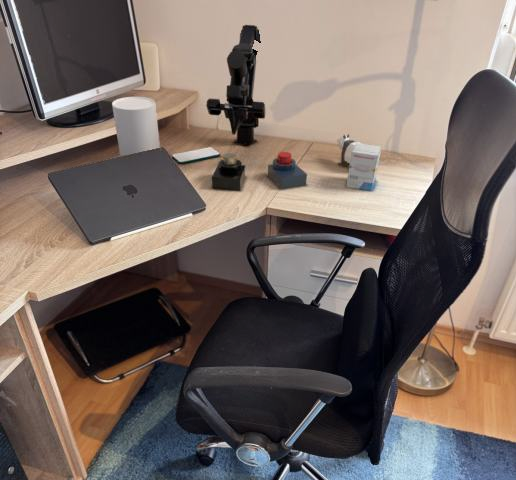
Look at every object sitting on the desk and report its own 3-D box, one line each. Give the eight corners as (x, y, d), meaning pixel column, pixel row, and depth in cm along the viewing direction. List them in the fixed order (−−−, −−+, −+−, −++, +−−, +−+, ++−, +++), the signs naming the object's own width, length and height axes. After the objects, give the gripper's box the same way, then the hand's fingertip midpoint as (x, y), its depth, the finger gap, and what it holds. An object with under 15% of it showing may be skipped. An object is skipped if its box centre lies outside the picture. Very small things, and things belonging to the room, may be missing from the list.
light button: (224, 160, 163) (224, 152, 161) (238, 162, 163) (238, 153, 161) (222, 166, 160) (222, 157, 158) (235, 167, 160) (235, 158, 158)
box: (266, 175, 168) (267, 159, 164) (290, 171, 171) (291, 155, 167) (281, 189, 160) (282, 172, 157) (306, 185, 163) (307, 168, 159)
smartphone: (180, 165, 173) (221, 156, 179) (179, 162, 172) (221, 154, 178) (171, 157, 178) (211, 149, 184) (170, 154, 177) (211, 146, 183)
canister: (167, 168, 170) (161, 106, 157) (130, 175, 165) (120, 112, 152) (152, 154, 179) (146, 94, 165) (116, 161, 173) (106, 99, 160)
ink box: (375, 181, 167) (382, 146, 159) (371, 191, 161) (378, 155, 153) (350, 177, 169) (356, 142, 161) (345, 186, 163) (351, 151, 155)
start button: (275, 160, 164) (275, 152, 163) (287, 159, 166) (288, 151, 164) (281, 166, 161) (281, 157, 160) (293, 164, 163) (293, 155, 161)
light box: (219, 174, 168) (218, 157, 164) (245, 176, 167) (245, 159, 164) (212, 188, 159) (211, 171, 156) (240, 191, 159) (240, 174, 155)
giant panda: (367, 171, 173) (372, 143, 167) (354, 174, 171) (359, 146, 164) (342, 156, 182) (346, 129, 176) (329, 159, 180) (333, 132, 174)
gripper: (206, 70, 155) (200, 119, 154) (265, 74, 153) (260, 123, 153) (212, 90, 166) (206, 136, 165) (267, 94, 165) (262, 140, 164)
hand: (233, 134), depth 161 cm, fingers closed
